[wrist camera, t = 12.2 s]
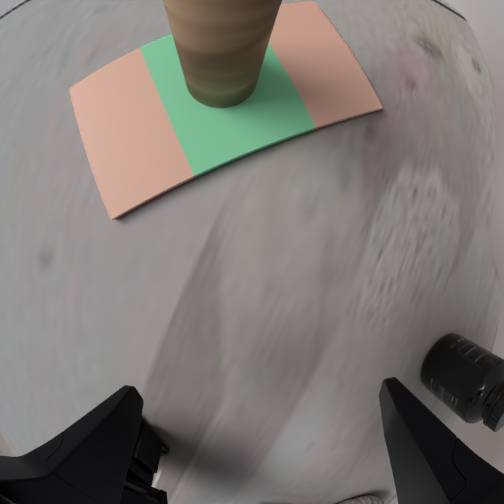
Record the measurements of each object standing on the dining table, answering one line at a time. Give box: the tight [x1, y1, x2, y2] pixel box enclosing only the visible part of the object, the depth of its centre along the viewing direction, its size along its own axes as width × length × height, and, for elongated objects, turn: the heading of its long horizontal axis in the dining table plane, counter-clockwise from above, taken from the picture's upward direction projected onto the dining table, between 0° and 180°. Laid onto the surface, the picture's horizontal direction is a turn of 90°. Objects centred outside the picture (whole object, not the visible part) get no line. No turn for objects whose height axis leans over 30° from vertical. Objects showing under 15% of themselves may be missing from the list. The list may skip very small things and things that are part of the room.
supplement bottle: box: [421, 334, 504, 432], centre depth 17 cm, size 7×7×12 cm
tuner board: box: [69, 1, 383, 220], centre depth 16 cm, size 22×12×1 cm, turn 114°
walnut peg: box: [163, 0, 282, 108], centre depth 9 cm, size 5×5×14 cm
